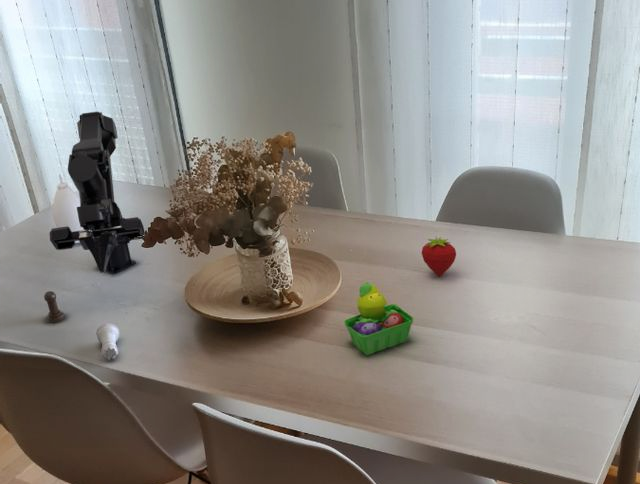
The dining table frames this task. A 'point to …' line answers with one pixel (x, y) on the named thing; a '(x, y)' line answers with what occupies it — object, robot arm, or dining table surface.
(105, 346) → the rook chess piece
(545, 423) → the dining table surface
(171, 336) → the dining table surface
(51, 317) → the walnut pawn
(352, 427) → the dining table surface
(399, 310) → the fruit basket
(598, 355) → the dining table surface
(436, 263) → the strawberry
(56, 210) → the sauce bottle
